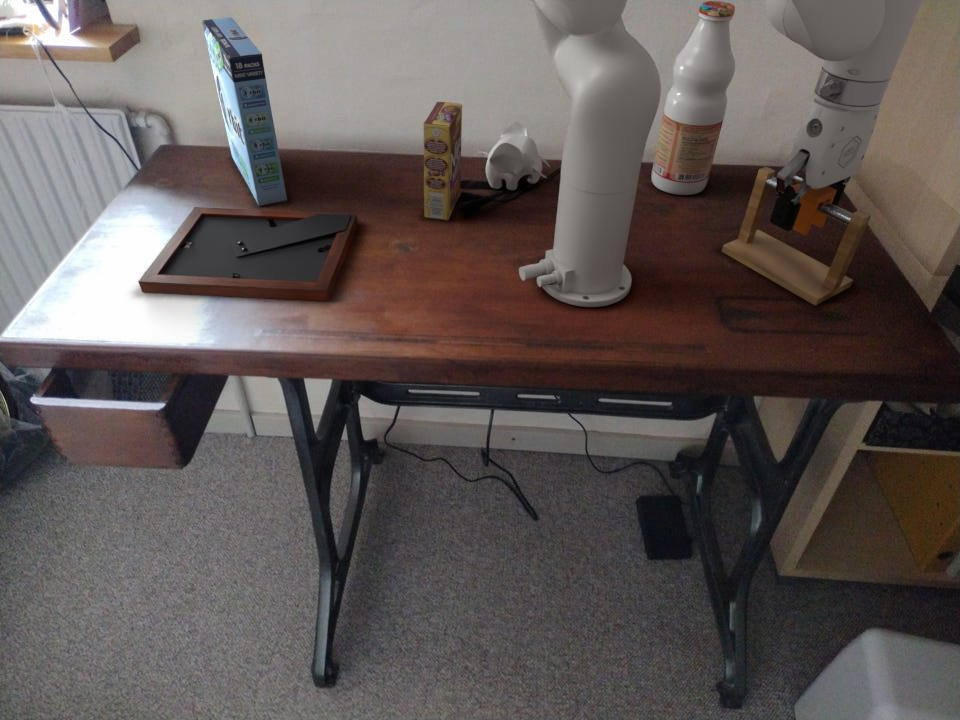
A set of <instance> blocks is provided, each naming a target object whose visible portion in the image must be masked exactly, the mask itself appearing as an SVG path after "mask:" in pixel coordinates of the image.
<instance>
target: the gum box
mask: <svg viewBox="0 0 960 720" xmlns="http://www.w3.org/2000/svg"><path fill="white" fill-rule="evenodd" d="M201 23H202V28H203V32H204V38H205V41H206V47H207V51H208V55H209V59H210V64H211V68H212V73H213V78H214V82H215V87H216V91H217V95H218V100H219V104H220V109H221V113H222V118H223V123H224V127H225V131H226V136H227V140H228V144H229V149H230V153H231V154H230V155H231V157H232V159H233V161H234V164H235V165H236V167H237V169H238V171H239V172H240V174H241V175H242V178H243V180H244V181H245V183H246V184H247V187H248V188H249V190H250V192H251V194H252V196H253V198H254V199H255V202H256V204H257V206H259V207H263V206H268V205H269V206H270V205H273V204H278V203H283V202H287V201H288V197H287V191H286V186H285V180H284V174H283V168H282V163H281V157H280V152H279V146H278V140H277V134H276V128H275V123H274V118H273V111H272V106H271V101H270V95H269V89H268V83H267V77H266V70H265V66H264V59H263V53H262V52H261V51H260V49H259V48H258V47H257V46H256V45H255V44H254V42H253V41H252V40H251V38H249V36H248V35H247V34H246V33H245V32H244V30H243V29H242V28H241V27H240V26H239V24H238V23H237V22H236V20H234V19H233V18H232V17H231V16H230V17H218V18H212V19H203V20H201Z"/></svg>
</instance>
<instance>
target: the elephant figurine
mask: <svg viewBox="0 0 960 720" xmlns="http://www.w3.org/2000/svg"><path fill="white" fill-rule="evenodd" d="M479 154H481V155H482V156H484V157H485V158H487V160H486V165H485V176H486V179H487V182H488V184H489V187H491V188H492V189H495V190H499V189H501V188H502V187H503V180H504V181H505V187H506V189H507V190H509V191H515V190H517V188H518V187H519V181H520V180H521V178H523V177H524V176H526V175H528V177H527V179H526V181H527V183H528V184H533V185H534V184H536V183H538V182H539V180H540V178H541V177H542V178H544V179H548V177H547V176H546V175H545V174H543V173H542V171H543V164H544V165H546V166H547V167H549V168H551V169H552V167H551V165H550V164H549V162H548V161H547V160H546V159H545V158H543V156H541V155H540V154H539V152H538V150H537V144H536V142H535V140H534V139H533V138H532V137H530V136H529V133H528V130H527V128H526V126H525V125H524V124H522V123H520V122H519V121H512V122H510V123H508V124H507V125H506V126H505V127H504V128H503V130H502V132H501V134H500V136H499V139H498V142H496V144H494V145H493V147H492V148H491V150H490V151H489V152H487V151H481V150H479Z"/></svg>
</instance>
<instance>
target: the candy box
mask: <svg viewBox="0 0 960 720" xmlns="http://www.w3.org/2000/svg"><path fill="white" fill-rule="evenodd" d="M462 125H463V104H462V103H458V102H452V101H451V102H450V101H436V103H435V104H434V106H433V108H432V110H431V111H430V113H429V115H428V116H427V117H426V120H425V121H424V122H423V201H424V202H423V203H424V204H423V206H424V207H423V209H424V211H423V212H424V213H423V214H424V215H423V216H424V218H426V219H433V220H441V221H449V220H450V217H451V215H452V213H453V211H454V209H455V206H456V205H457V203H458V200H459V198H460V196H461V176H462V133H463V132H462V129H463V127H462Z"/></svg>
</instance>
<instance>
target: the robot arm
mask: <svg viewBox="0 0 960 720" xmlns="http://www.w3.org/2000/svg"><path fill="white" fill-rule="evenodd" d="M529 2H530V4H531V5H530V6H531V8H532V11H533V14H534V16H535V19H536V22H537V26H538V29H539V32H540V34H541V36H542V40H543V43H544V46H545V48H546V51H547V54H548V57H549V59H550V63H551V65H552V69H553V70H554V74H555V76H556V78H557V79H558V81H559V83H560V85H561V86H562V88H563V90H564V91H565V94H566V95H567V97H568V100H569V101H570V104H571V105H570V106H571V114H570V120H569V125H568V128H567V132H566V135H565V139H564V144H563V149H562V156H561V165H560V178H559V179H560V180H559V190H558V200H557V209H556V219H555V228H554V237H553V238H554V239H553V245H552V246H553V247H552V248H551V249H547V250H545V257H544V258H543V259H542V258H541V259H540V260H539V262H538V263H532V264H531V263H530V264H526V265H523V266H520V267H519V268H518V274H519V278H520V279H521V281H523V282H525V281H529V280H534V279H536V284H537V286H538V287H539V288H541V287H542V289H543V290H544V291H545V292H546V294H548V295H549V296H551V297H553V298H554V299H555V300H557V301H560V302H562V303H564V304H568V305H571V306H576V307H581V308H582V307H583V308H599V307H606V306H610V305H613V304H616V303H618V302H620V301H621V300H623V299H624V298H625V297H626V296H627V295H629V293H630V290H631V287H632V282H633V278H632V274H631V272H630V270H629V269H628V267H627V266H626V265H625V264H624V261H625V256H626V250H627V245H628V239H629V235H630V229H631V223H632V218H633V212H634V206H635V201H636V195H637V190H638V186H639V177H640V173H641V167H642V163H643V157H644V154H645V153H644V152H645V149H646V145H647V141H648V138H649V135H650V132H651V129H652V126H653V124H654V121H655V118H656V115H657V112H658V110H659V106H660V101H661V96H662V95H661V93H662V83H661V76H660V72H659V70H658V67H657V65H656V62H655V60H654V59H653V57H652V56H651V54H650V52H649V51H648V50H647V49H646V48H645V47H644V46H643V45H642V44H641V43H640V42H639V41H638V40H637V38H635V37H634V36H633V35H632V34H631V33H629V32H628V30H627V29H626V26H625V24H624V20H623V16H622V15H623V13H624V11H625V9H626V6H627V2H628V0H529ZM922 2H923V0H765V3H764V4H765V7H764V8H765V13H766V17H767V19H768V21H769V23H770V24H771V27H773V28H774V29H775V30H776V31H777V32H778V33H780V34H781V35H782V36H784V37H786V38H787V39H789V40H790V41H792V42H793V43H796V44H798V45H799V46H801V47H802V48H804V49H805V50H807V51H808V52H809V53H810V54H812V55H814V56H815V57H817V58H819V59H821V60H823V62H822V66H821V69H820V72H819V75H818V77H817V80H816V84H815V87H814V90H813V93H812V97H813V99H812V102H811V103H810V105H809V108H808V110H807V112H806V114H805V116H804V118H803V121H802V123H801V125H800V128H799V130H798V132H797V135H796V137H795V140H794V143H793V144H792V149H791V150H790V154H789V156H788V160H787V164H785V166H784V167H782V169H780V170H779V171H778V172H777V174H776V176H775V178H776V181H777V185H776V191H777V192H775V193H776V194H775V197H776V200H775V203H774V206H773V209H772V212H771V215H770V218H769V222H770V224H772V225H774V226H776V227H778V228H780V229H782V230H783V231H786V232H790V231H793V227H794V224H795V221H796V218H797V216H798V213H799V210H800V207H801V205H802V204H801V203H799V201H800V200H801V198H802V197H803V196H804V194H805V193H806V191H807V190H808V189H809V187H810V186H811V188H813V189H820V188H823V187H826V186H829V187H832V188H834V189H836V190H837V191H836V194H835V196H834V199H833V202H832V204H833V205H835V206H838V207H839V204H840V201H841V199H842V197H843V194H844V191H845V188H846V186H847V185H846V184H848V183H849V182H850V181H851V178H852V176H853V175H856V174H857V173H858V171H859V170H860V169H861V166H862V164H863V161H864V158H865V156H866V154H867V150H868V148H869V144H870V142H871V140H872V136H873V133H874V130H875V127H876V124H877V120H878V117H879V113H880V108H881V104H882V102H883V99H884V97H885V95H886V91H887V89H888V87H889V84H890V82H891V80H892V76H893V74H894V71H895V69H896V66H897V64H898V62H899V60H900V57H901V55H902V53H903V50H904V47H905V45H906V42H907V39H908V38H909V35H910V32H911V29H912V27H913V25H914V22H915V20H916V17H917V15H918V12H919V10H920V8H921V5H922ZM799 175H804V176H805V178H803V177H802V176H799ZM794 183H796V184H801V186H800V188H799V189H798V190H797V192H795V190H794V188H793V186H794V185H793V184H794ZM791 185H792V186H791Z"/></svg>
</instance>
